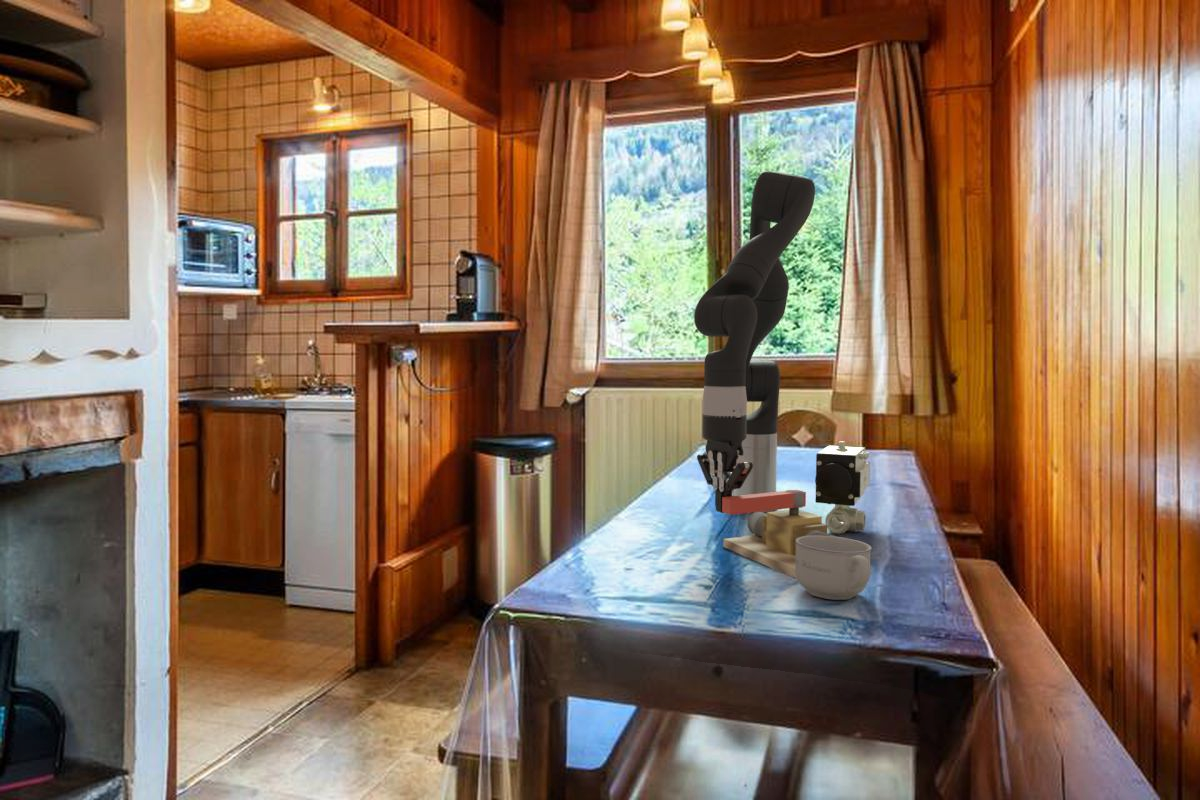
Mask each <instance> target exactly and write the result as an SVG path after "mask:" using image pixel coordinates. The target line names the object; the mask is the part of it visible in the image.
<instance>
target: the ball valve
mask: <svg viewBox="0 0 1200 800" xmlns="http://www.w3.org/2000/svg"><path fill="white" fill-rule="evenodd" d="M869 454H870V453H869V451H866V447H865V446H854V445H853V446H851V445H846V441H845V440H844V441H843V440H840V441H838V445H836V444H835V445H833V444H829V445H828V446H826V447H824V448H823V449H821V450H820V451H819V452H817V453H816V454H815V457H816V458H815V463H816V464H815V465H816V466H815V477H814V478H815V479H814V483H815V503H816V504H817V503H818V504H827V505H834V507H833V508H832V509H831V510H830V511H829V512H828V513H827V515H825V516H826V517H825V520H824V521H825V522H824V524H826V525H827V530H828V531H830V532H831V533H833V534H837V535H840V534H844V533H846V532H850V533H857V531H865V529H866V524H867V523H866V521H867V520H866V516H867V515H866V511H863V510H859V509H858V508H856V507H855V508H854V506H855V505H857V503H858V501H860V499H861V498H862V496H863V495H864V494H865V491H866V490H867V489H868V487H869V486H870V477H871V476H870V475H871V472H870V471H871V468H870V467H871V462H870V461H866V460H868V459H869V458H870V457H869Z"/></svg>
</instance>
